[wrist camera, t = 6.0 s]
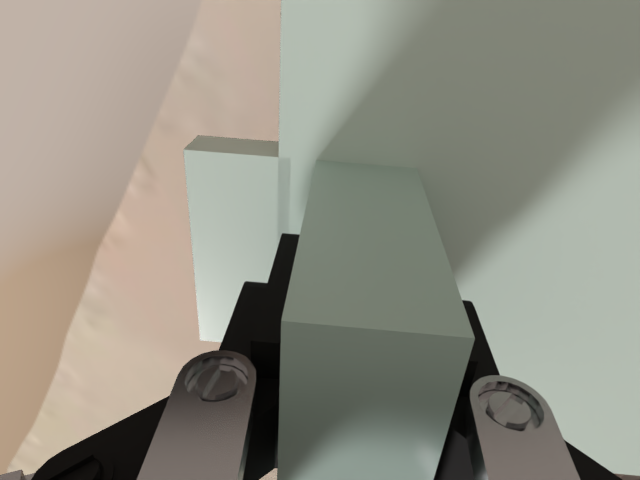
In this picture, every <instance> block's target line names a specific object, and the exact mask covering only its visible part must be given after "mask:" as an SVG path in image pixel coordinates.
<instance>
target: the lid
mask: <svg viewBox="0 0 640 480" xmlns="http://www.w3.org/2000/svg"><path fill="white" fill-rule="evenodd" d="M184 162H185V173H186V185H187V196H188V207H189V219H190V230H191V241H192V253H193V264H194V276H195V287H196V298H197V310H198V321H199V333H200V340H202V341H213V342H222V340H223V338H224V335H225V332H226V330H227V327H228V324H229V322H230V319H231V316H232V313H233V311H234V308H235V305H236V303H237V300H238V297H239V294H240V292H241V289H242V286H243V284H244V282H245V281H251V282H262V283H268V279H269V276H270V272H271V269H272V265H273V262H274V259H275V255H276V252H277V248H278V245H279V241H280V238H281V235H282V233H287V234H299V235H300V236H299V241H298V245H297V250H296V255H295V259H294V264H293V269H292V273H291V278H290V282H289V287H288V292H287V296H286V301H285V305H284V310H283V315H282V319H281V347H280V388H279V429H278V470H277V480H433V479H434V476H435V473H436V469H437V466H438V463H439V459H440V456H441V452H442V449H443V446H444V442H445V439H446V435H447V432H448V429H449V425H450V422H451V418H452V415H453V412H454V408H455V405H456V401H457V398H458V395H459V391H460V388H461V384H462V381H463V378H464V374H465V371H466V367H467V364H468V361H469V357H470V354H471V350H472V347H473V344H474V340H475V337H474V334H473V331H472V328H471V325H470V322H469V319H468V316H467V313H466V310H465V307H464V304H463V302H462V300H468V301H471V302H472V303H473V305H474V307H475V310H476V312H477V315H478V318H479V320H480V323H481V326H482V328H483V331H484V334H485V336H486V339H487V342H488V344H489V347H490V350H491V352H492V355H493V358H494V360H495V363H496V366H497V368H498V371H499V374H500V375H501V376H506V377H510V378H514V379H516V380H519V381H521V382H523V383H525V384H527V385H528V386H530V387H531V388H533V389H534V390H536V391H537V392H538V393H539V394H540V395H541V396H542V397H543V398H544V399H545V400H546V402H547V403H548V405H549V407H550V408H551V410H552V412H553V415H554V417H555V420H556V422H557V424H558V427H559V429H560V432H561V434H562V437H563V439H564V440H565V441H567V442H568V443H570V444H571V445H573V446H574V447H575V448H577V449H578V450H580V451H581V452H583V453H584V454H586V455H587V456H589V457H590V458H592V459H593V460H595V461H596V462H597V463H599V464H600V465H602V466H603V467H605V468H606V469H608V470H609V471H611V472H612V473H615V474H625V475H636V476H640V0H281V40H280V99H279V142H275V141H263V140H250V139H237V138H225V137H212V136H199V135H198V136H197V137H196V138H195V139H194V140H193V141H192V142H191V143H190V144H189V145H188V146H187V147H186V148H185V149H184Z"/></svg>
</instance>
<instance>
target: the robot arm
mask: <svg viewBox="0 0 640 480" xmlns="http://www.w3.org/2000/svg"><path fill="white" fill-rule="evenodd" d="M299 236H300V235H299V234H287V233H282V235H281V238H280V241H279V245H278V248H277V252H276V255H275V259H274V262H273V265H272V269H271V272H270V276H269V279H268V283H262V282H251V281H245V282H244V284H243V286H242V289H241V292H240V294H239V297H238V300H237V303H236V305H235V308H234V311H233V313H232V316H231V319H230V322H229V324H228V327H227V330H226V332H225V335H224V338H223V340H222V343H221V346H220V349H219V350H217V351H210V352H207V353H203V354H200V355H198V356H197V357H195V358H193V359H191V360H190V361H189V362H188V363H186V364H185V365H184V366H183V368H182V369H181V371H180V372H179V374H178V376H177V379H176V381H175V384H174V386H173V389H172V391H171V394H170V396H168V397H166V398H164V399H162V400H160V401H158V402H156V403H154V404H153V405H151V406H149V407H147V408H145V409H143V410H141V411H139V412H137V413H135V414H133V415H131V416H129V417H127V418H125V419H123V420H121V421H119V422H117V423H116V424H114V425H112V426H110V427H108V428H106V429H104V430H102V431H100V432H98V433H96V434H94V435H92V436H90V437H88V438H86V439H84V440H82V441H80V442H79V443H77V444H75V445H73V446H71V447H69V448H67V449H65V450H63V451H61V452H60V453H58V454H57V455H55V456H54V457H52V458H50V459H49V460H48V461H47V462H46V463H45V464H44V465H43V466H41V467H40V468H39V469H38V470H37V471H36V473H33V474H29V475H25V476H24V474H23V471H22V470H18V471H14V472H10V473H6V474H3V475H0V480H259V479H260V478H262V477H263V476H264V475H266V474H267V473H269V472H270V471H271V470H273V469H274V468H278V429H279V388H280V347H281V319H282V315H283V310H284V305H285V301H286V296H287V292H288V287H289V282H290V278H291V273H292V269H293V264H294V259H295V255H296V250H297V245H298V241H299ZM462 302H463V304H464V307H465V310H466V313H467V316H468V319H469V322H470V325H471V328H472V331H473V334H474V337H475V340H474V344H473V347H472V350H471V354H470V357H469V361H468V364H467V367H466V371H465V374H464V378H463V381H462V384H461V388H460V391H459V395H458V398H457V401H456V405H455V408H454V412H453V415H452V418H451V422H450V425H449V429H448V432H447V435H446V439H445V442H444V446H443V449H442V452H441V456H440V459H439V463H438V466H437V469H436V473H435V476H434V479H433V480H640V476H636V475H625V474H615V473H612V472H611V471H609V470H608V469H606V468H605V467H603V466H602V465H600V464H599V463H597V462H596V461H595V460H593V459H592V458H590V457H589V456H587V455H586V454H584V453H583V452H581V451H580V450H578V449H577V448H575V447H574V446H573V445H571V444H570V443H568V442H567V441H565V440H564V439H563V437H562V434H561V432H560V429H559V427H558V424H557V422H556V420H555V417H554V415H553V412H552V410H551V408H550V407H549V405H548V403H547V402H546V400H545V399H544V398H543V397H542V396H541V395H540V394H539V393H538V392H537V391H536V390H534V389H533V388H531V387H530V386H528V385H527V384H525V383H523V382H521V381H519V380H516V379H514V378H510V377H506V376H501V375H500V374H499V371H498V368H497V366H496V363H495V360H494V358H493V355H492V352H491V350H490V347H489V344H488V342H487V339H486V336H485V334H484V331H483V328H482V326H481V323H480V320H479V318H478V315H477V312H476V310H475V307H474V305H473V303H472V302H471V301H468V300H462Z"/></svg>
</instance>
